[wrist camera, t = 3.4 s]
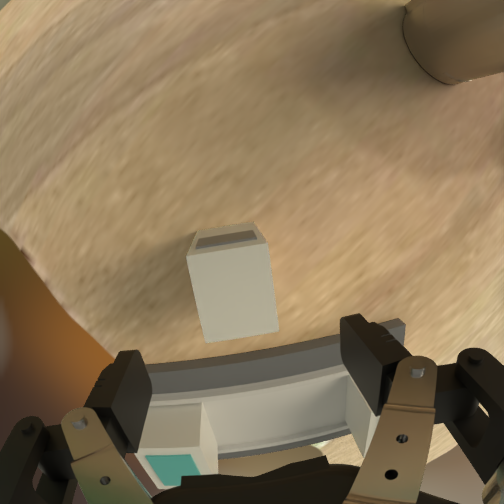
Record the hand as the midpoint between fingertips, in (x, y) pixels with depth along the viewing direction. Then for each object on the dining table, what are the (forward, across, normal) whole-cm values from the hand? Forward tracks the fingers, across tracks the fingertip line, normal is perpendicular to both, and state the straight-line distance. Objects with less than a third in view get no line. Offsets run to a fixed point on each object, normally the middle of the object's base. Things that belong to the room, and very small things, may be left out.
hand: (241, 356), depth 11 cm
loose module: (+14, 0, 0) cm, 14 cm away
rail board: (+14, -2, +16) cm, 21 cm away
